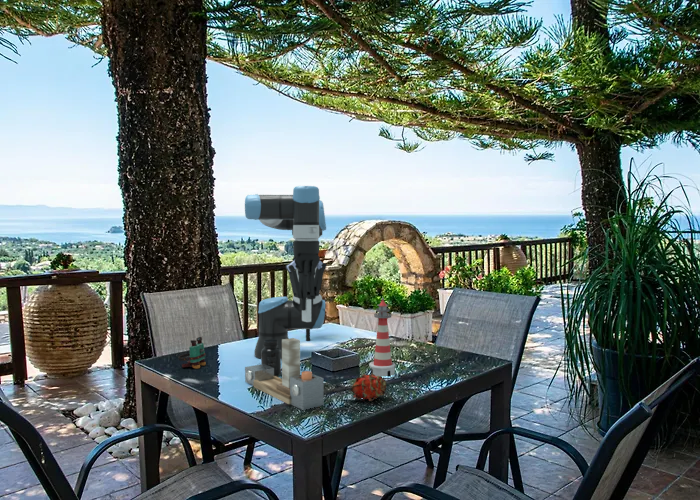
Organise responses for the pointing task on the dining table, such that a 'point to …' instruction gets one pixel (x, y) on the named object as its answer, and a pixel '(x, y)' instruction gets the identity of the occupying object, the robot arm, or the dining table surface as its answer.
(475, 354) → the dining table surface
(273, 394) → the rail
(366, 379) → the dragon fruit
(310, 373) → the button
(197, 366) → the binoculars
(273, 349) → the supplement bottle
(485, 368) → the dining table surface
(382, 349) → the miniature lighthouse
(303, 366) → the dining table surface
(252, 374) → the cabinet
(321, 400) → the cabinet
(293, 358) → the tall cream pillar
